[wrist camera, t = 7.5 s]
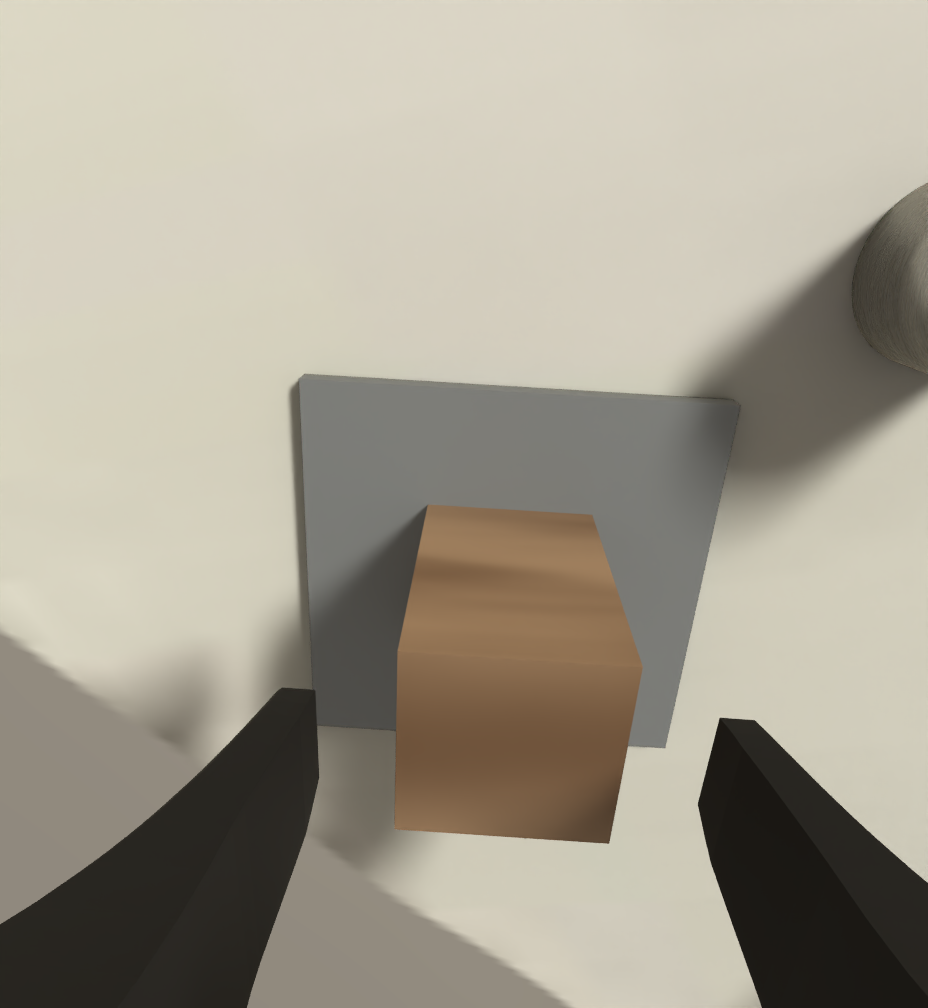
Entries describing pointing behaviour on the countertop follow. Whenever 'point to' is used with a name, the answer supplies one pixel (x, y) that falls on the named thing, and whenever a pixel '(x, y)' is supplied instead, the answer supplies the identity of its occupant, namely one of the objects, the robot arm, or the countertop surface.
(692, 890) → the countertop surface
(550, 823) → the walnut block
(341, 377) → the slate mat
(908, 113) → the countertop surface
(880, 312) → the shiny grey rounded piece
